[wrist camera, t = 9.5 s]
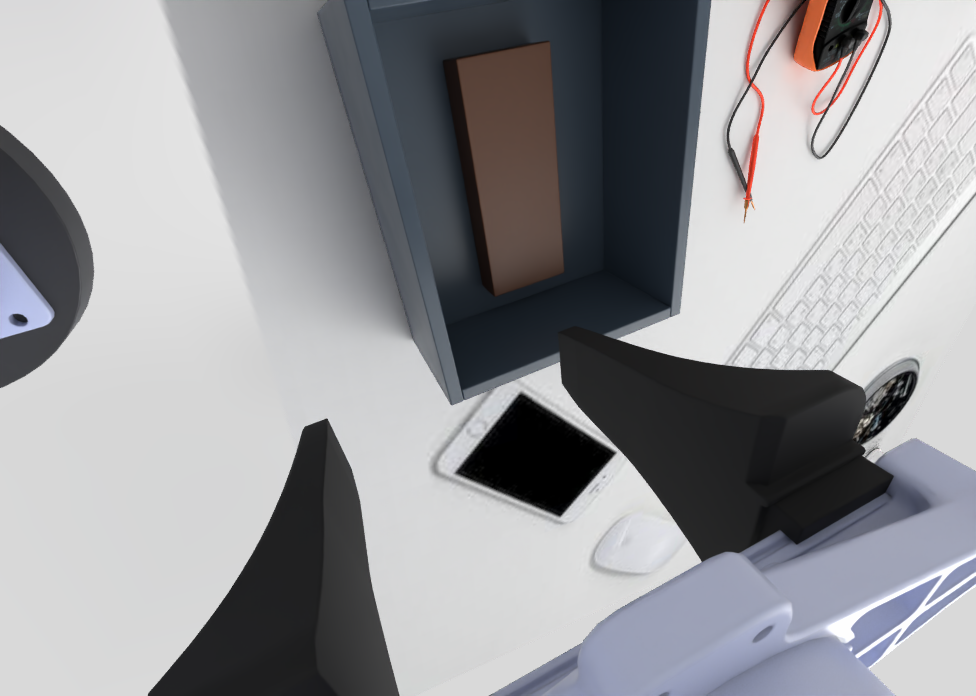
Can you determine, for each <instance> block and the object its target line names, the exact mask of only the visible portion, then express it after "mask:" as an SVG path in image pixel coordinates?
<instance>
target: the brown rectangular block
mask: <svg viewBox="0 0 976 696" xmlns="http://www.w3.org/2000/svg"><path fill="white" fill-rule="evenodd" d="M443 66H444V71H445V77H446V83H447V88H448V94H449V99H450V105H451V111H452V116H453V122H454V128H455V133H456V139H457V145H458V150H459V156H460V161H461V167H462V173H463V178H464V184H465V190H466V195H467V201H468V206H469V212H470V218H471V223H472V229H473V235H474V240H475V246H476V252H477V257H478V263H479V268H480V274H481V280H482V285H483V286H484V287H485V288H486V289H487V290H488V291H489V292H490V293H491V294H492V295H493V296H494V297H496V296H499V295H502V294H505V293H508V292H511V291H514V290H517V289H519V288H522V287H525V286H528V285H531V284H534V283H537V282H540V281H542V280H545V279H548V278H551V277H554V276H557V275H560V274H563V273H564V257H563V241H562V225H561V209H560V193H559V177H558V161H557V145H556V129H555V113H554V97H553V81H552V65H551V49H550V41H542V42H534V43H528V44H523V45H518V46H513V47H508V48H502V49H497V50H492V51H487V52H482V53H477V54H472V55H467V56H462V57H456V58H451V59H446V60H443Z"/></svg>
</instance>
